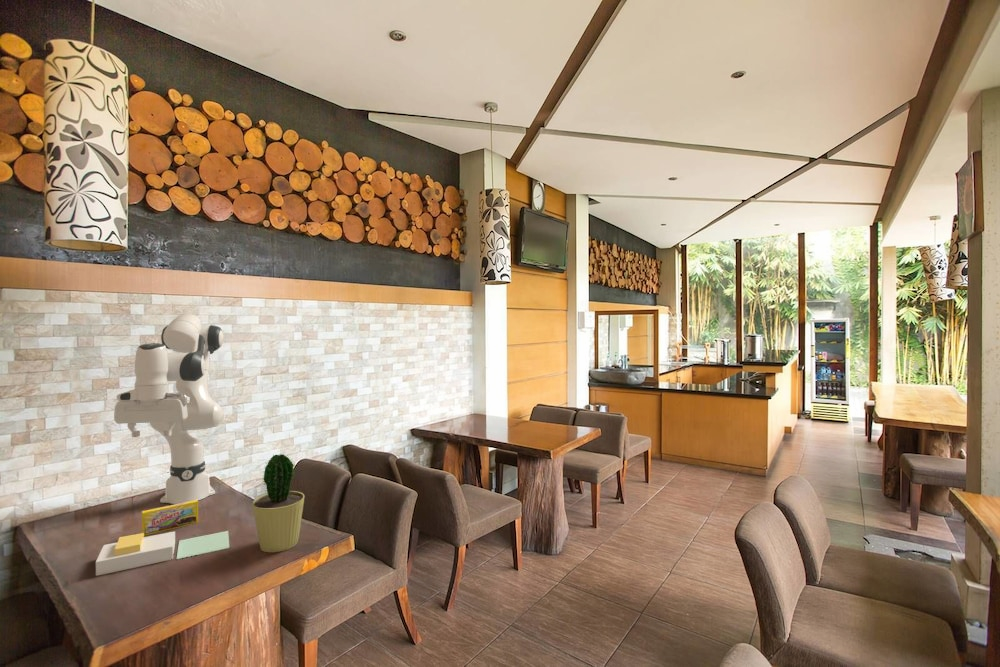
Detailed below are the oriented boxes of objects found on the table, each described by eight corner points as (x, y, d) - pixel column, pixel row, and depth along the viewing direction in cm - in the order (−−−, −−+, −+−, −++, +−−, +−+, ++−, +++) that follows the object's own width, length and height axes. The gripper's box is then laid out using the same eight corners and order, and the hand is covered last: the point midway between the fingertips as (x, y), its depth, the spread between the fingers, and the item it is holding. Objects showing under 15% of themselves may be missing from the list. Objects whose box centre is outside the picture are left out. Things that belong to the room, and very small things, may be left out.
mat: (179, 541, 155) (179, 540, 155) (228, 531, 162) (228, 530, 162) (176, 559, 143) (176, 558, 143) (229, 548, 151) (229, 547, 151)
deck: (104, 557, 144) (103, 544, 144) (175, 543, 154) (175, 531, 154) (95, 575, 134) (95, 562, 134) (172, 559, 144) (172, 546, 143)
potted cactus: (250, 559, 144) (248, 462, 143) (255, 537, 158) (254, 449, 157) (304, 550, 149) (303, 456, 149) (305, 530, 164) (304, 444, 163)
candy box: (142, 537, 158) (141, 512, 158) (141, 535, 160) (141, 510, 160) (198, 523, 169) (198, 500, 169) (197, 521, 171) (197, 498, 171)
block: (119, 543, 145) (119, 537, 145) (143, 539, 148) (143, 532, 148) (114, 556, 137) (114, 549, 137) (140, 551, 141) (140, 544, 140)
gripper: (191, 391, 157) (191, 433, 157) (123, 393, 154) (123, 435, 154) (181, 393, 151) (181, 436, 151) (110, 395, 148) (110, 439, 148)
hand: (151, 436), depth 153 cm, fingers open, 8 cm apart
